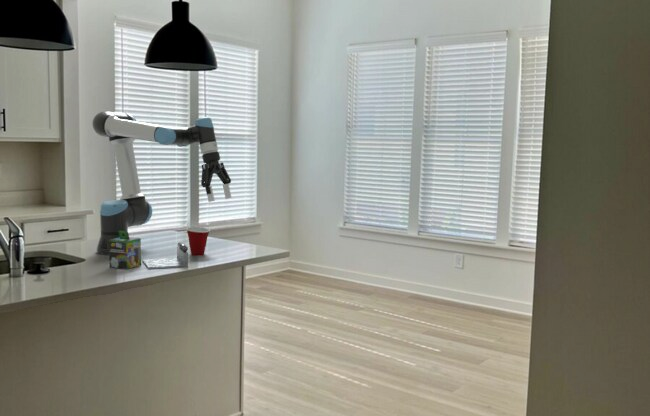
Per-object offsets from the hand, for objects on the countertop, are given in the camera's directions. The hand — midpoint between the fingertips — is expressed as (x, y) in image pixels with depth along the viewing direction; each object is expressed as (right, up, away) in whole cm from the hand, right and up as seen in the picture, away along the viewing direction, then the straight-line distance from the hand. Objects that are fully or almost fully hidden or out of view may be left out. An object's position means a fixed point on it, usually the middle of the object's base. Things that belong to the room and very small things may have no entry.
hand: (220, 199), depth 271 cm
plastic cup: (-12, -25, +10) cm, 29 cm away
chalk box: (-35, -28, -21) cm, 49 cm away
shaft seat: (-21, -27, -14) cm, 37 cm away
